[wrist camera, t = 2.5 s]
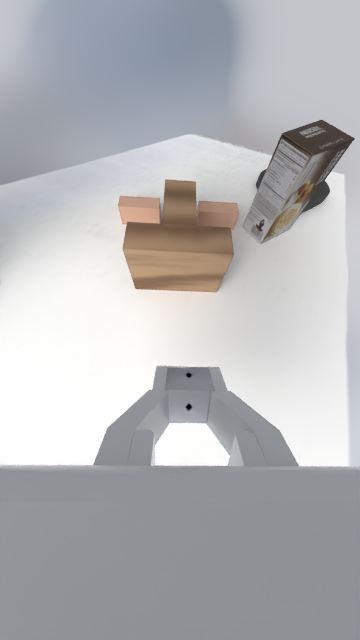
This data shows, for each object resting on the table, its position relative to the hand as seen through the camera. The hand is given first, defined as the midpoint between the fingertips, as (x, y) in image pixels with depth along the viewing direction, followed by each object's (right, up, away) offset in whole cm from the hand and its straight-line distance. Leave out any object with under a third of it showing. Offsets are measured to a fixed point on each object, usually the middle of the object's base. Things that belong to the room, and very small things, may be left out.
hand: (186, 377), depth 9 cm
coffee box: (+19, +23, +32) cm, 44 cm away
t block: (-1, +15, +28) cm, 32 cm away
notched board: (-1, +25, +31) cm, 40 cm away
